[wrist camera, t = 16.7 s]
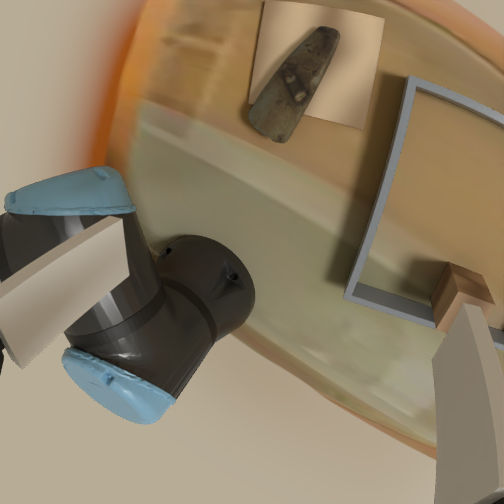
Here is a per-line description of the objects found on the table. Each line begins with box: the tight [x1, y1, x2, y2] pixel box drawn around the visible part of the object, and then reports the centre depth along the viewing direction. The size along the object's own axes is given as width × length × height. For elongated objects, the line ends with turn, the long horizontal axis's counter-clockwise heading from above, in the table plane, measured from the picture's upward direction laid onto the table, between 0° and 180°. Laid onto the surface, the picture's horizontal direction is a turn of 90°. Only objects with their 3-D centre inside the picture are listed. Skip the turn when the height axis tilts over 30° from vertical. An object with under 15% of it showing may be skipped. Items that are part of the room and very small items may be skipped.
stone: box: [248, 26, 340, 143], centre depth 26 cm, size 13×5×2 cm, turn 153°
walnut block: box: [431, 262, 495, 333], centre depth 28 cm, size 5×5×6 cm
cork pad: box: [248, 0, 385, 130], centre depth 26 cm, size 12×12×1 cm
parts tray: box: [343, 75, 504, 350], centre depth 25 cm, size 26×24×3 cm
